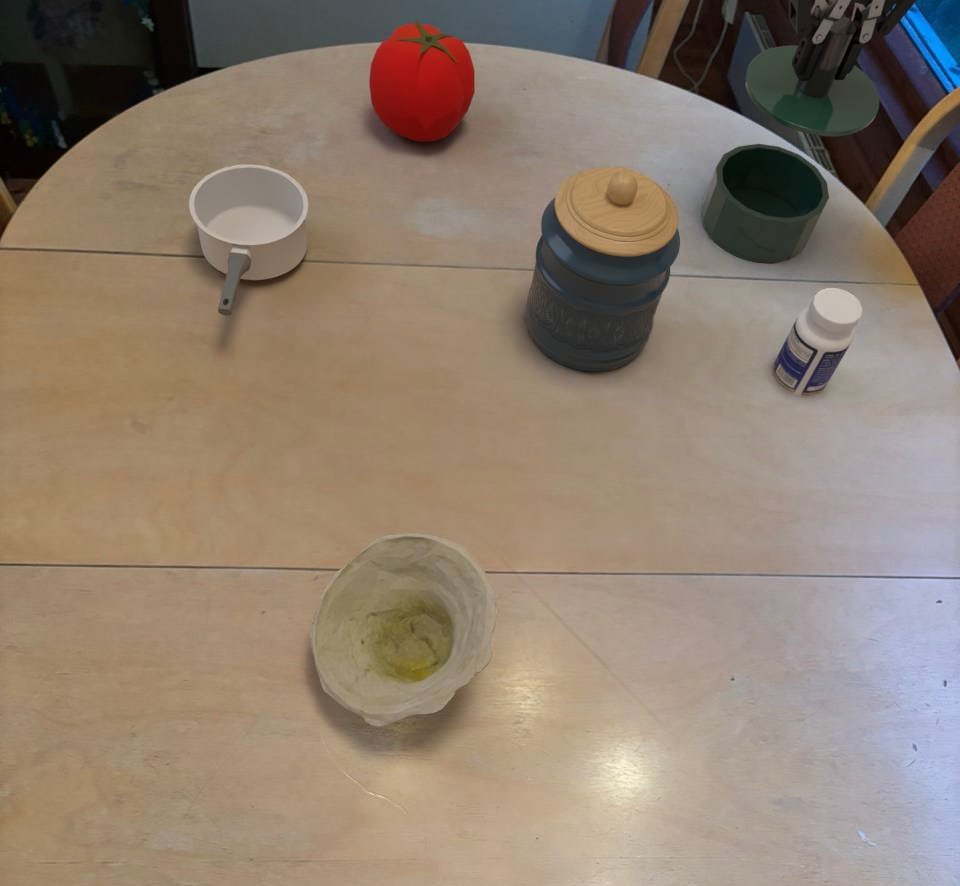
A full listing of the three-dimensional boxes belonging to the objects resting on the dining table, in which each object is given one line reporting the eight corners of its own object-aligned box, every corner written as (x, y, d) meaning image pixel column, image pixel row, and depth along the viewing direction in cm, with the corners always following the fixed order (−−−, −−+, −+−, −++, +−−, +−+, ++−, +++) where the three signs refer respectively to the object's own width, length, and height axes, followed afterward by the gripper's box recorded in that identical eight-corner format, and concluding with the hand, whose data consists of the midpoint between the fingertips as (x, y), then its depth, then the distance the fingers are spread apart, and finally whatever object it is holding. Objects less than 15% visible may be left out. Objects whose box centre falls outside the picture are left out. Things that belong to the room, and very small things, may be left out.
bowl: (288, 615, 79) (277, 551, 70) (442, 564, 83) (450, 498, 74) (352, 773, 74) (349, 726, 65) (514, 711, 77) (532, 658, 68)
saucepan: (171, 346, 91) (160, 302, 86) (209, 205, 100) (200, 157, 95) (292, 359, 92) (287, 316, 87) (318, 218, 101) (315, 171, 96)
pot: (750, 172, 111) (767, 130, 106) (830, 233, 108) (851, 192, 103) (679, 213, 107) (693, 171, 102) (760, 278, 103) (778, 238, 98)
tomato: (392, 167, 105) (393, 77, 96) (354, 103, 110) (352, 11, 101) (488, 147, 109) (499, 57, 99) (448, 85, 113) (455, -5, 104)
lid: (800, 41, 98) (829, -33, 92) (900, 111, 94) (938, 39, 88) (715, 84, 93) (739, 9, 87) (817, 160, 90) (851, 87, 83)
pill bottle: (824, 364, 98) (868, 289, 89) (823, 405, 96) (869, 333, 87) (770, 353, 98) (809, 277, 89) (768, 394, 96) (808, 320, 87)
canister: (623, 274, 101) (668, 120, 86) (665, 365, 96) (722, 218, 80) (508, 289, 99) (533, 132, 83) (545, 383, 93) (579, 235, 78)
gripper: (843, -109, 74) (763, 102, 89) (1003, -107, 76) (898, 98, 91) (811, -159, 77) (738, 53, 92) (964, -156, 79) (869, 50, 95)
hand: (818, 74), depth 92 cm, fingers closed on lid, 3 cm apart
